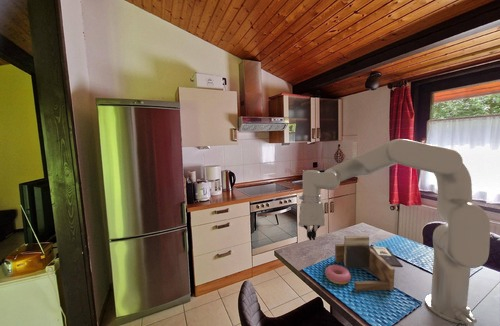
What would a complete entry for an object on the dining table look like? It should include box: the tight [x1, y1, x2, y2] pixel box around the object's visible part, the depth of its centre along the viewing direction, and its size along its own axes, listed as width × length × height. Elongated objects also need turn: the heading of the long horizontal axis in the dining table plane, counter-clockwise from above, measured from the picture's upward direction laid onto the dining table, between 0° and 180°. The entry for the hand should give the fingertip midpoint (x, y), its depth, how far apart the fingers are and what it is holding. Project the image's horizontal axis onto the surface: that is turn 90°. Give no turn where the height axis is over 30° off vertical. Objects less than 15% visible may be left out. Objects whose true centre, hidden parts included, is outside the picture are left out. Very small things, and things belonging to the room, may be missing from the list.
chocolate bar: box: [369, 245, 404, 268], centre depth 113 cm, size 9×1×18 cm
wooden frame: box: [334, 234, 396, 292], centre depth 99 cm, size 22×16×15 cm
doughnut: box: [324, 264, 352, 285], centre depth 97 cm, size 11×11×4 cm
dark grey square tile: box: [345, 244, 371, 269], centre depth 104 cm, size 1×11×11 cm, turn 90°
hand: (311, 238), depth 95 cm, fingers closed
